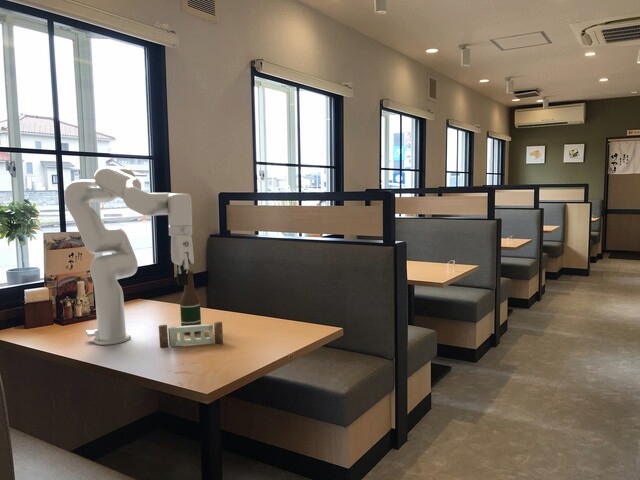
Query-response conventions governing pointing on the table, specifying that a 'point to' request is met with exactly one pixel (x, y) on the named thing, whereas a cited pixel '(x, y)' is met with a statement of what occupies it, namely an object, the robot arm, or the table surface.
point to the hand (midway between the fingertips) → (182, 284)
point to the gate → (193, 340)
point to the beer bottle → (190, 305)
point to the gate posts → (164, 335)
